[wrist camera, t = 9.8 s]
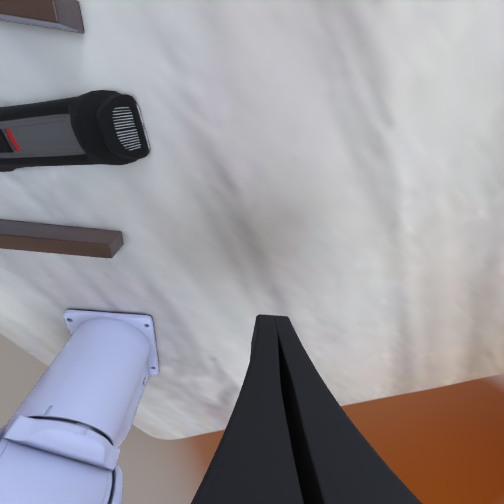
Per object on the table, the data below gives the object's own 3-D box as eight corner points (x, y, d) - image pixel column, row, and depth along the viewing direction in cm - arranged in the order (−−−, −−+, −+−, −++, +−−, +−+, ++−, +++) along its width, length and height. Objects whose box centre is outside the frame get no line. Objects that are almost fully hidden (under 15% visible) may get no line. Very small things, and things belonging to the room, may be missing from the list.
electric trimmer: (-126, 109, 14) (-214, 112, 11) (134, 88, 14) (105, 86, 11) (-75, 174, 16) (-140, 190, 13) (153, 158, 16) (133, 171, 13)
